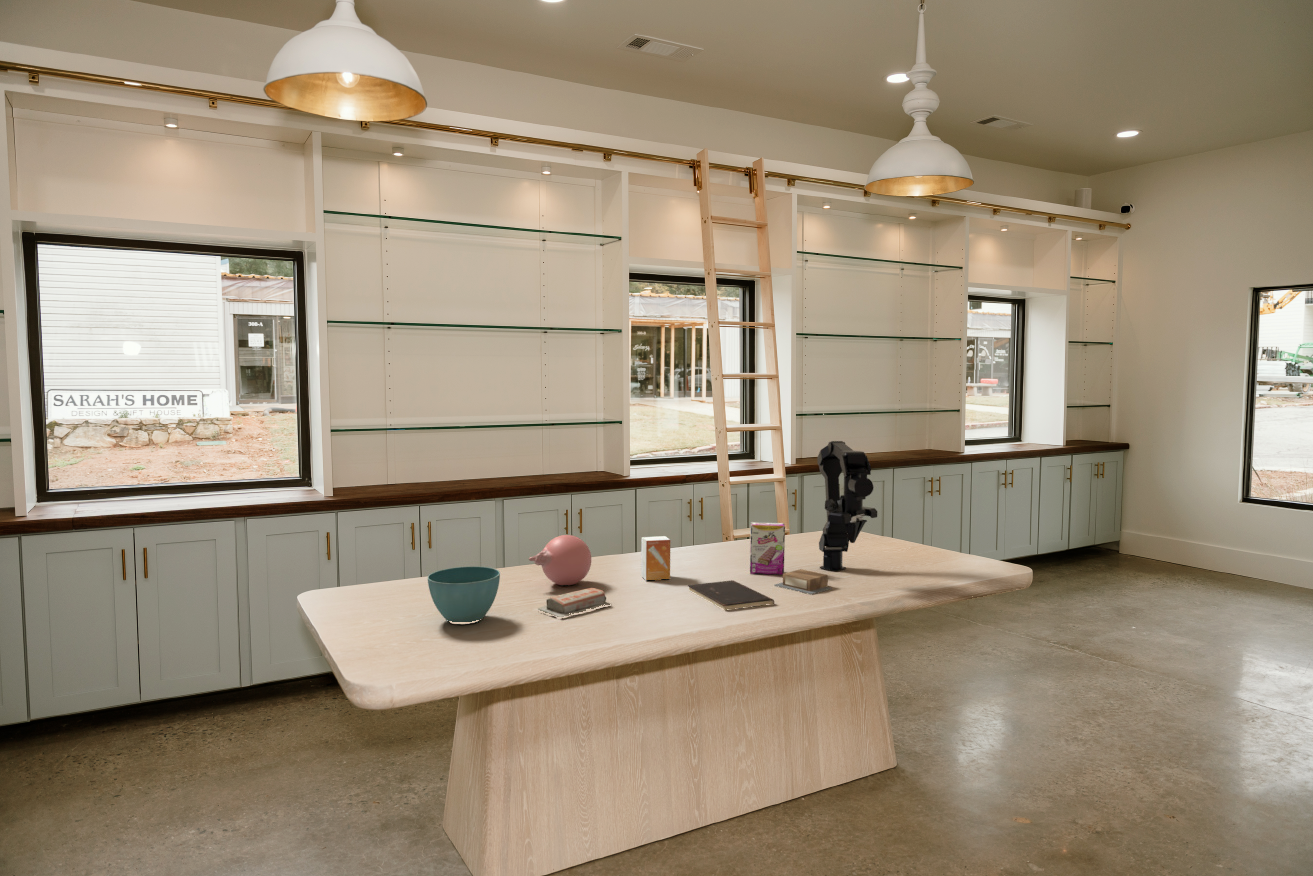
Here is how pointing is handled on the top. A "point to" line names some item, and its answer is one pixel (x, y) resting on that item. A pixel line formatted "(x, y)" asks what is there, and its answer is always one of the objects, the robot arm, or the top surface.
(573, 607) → the packaged product
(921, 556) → the top surface
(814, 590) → the grey rubber mat
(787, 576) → the walnut slab
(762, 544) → the candy bar box
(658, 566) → the small box
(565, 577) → the balloon
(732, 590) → the hardcover book
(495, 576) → the teal bowl
